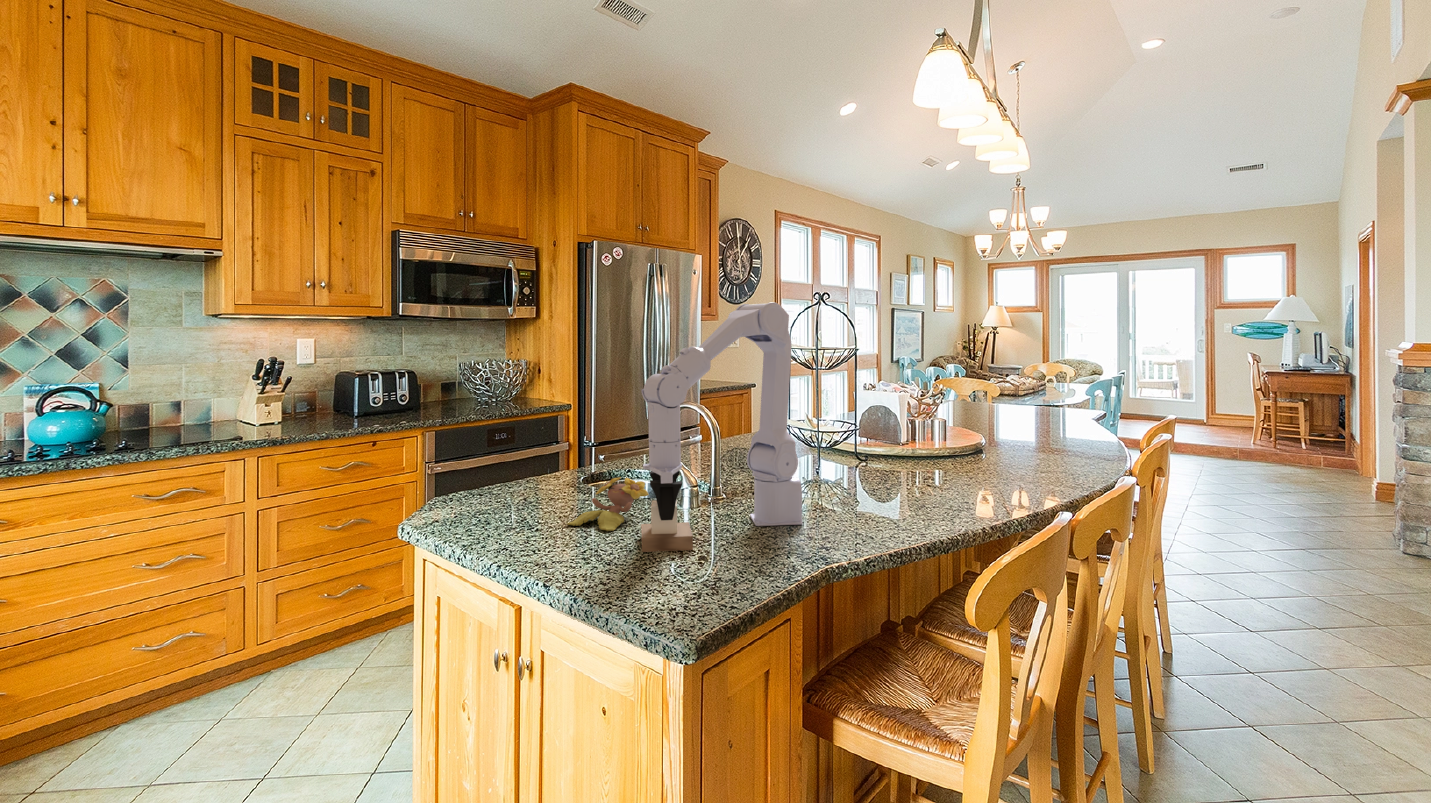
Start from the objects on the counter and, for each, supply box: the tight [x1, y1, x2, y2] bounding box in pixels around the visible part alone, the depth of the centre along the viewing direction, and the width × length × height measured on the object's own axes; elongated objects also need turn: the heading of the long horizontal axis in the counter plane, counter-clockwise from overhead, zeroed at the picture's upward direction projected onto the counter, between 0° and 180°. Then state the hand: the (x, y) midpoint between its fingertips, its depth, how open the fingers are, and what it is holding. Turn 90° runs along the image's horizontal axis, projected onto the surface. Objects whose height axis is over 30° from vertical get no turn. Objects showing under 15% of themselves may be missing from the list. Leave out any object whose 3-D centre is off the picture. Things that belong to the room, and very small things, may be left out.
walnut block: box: [640, 521, 694, 553], centre depth 126 cm, size 9×9×3 cm
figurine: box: [565, 476, 650, 532], centre depth 142 cm, size 12×9×15 cm
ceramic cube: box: [650, 499, 678, 534], centre depth 125 cm, size 5×5×5 cm
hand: (665, 514), depth 125 cm, fingers open, 7 cm apart
